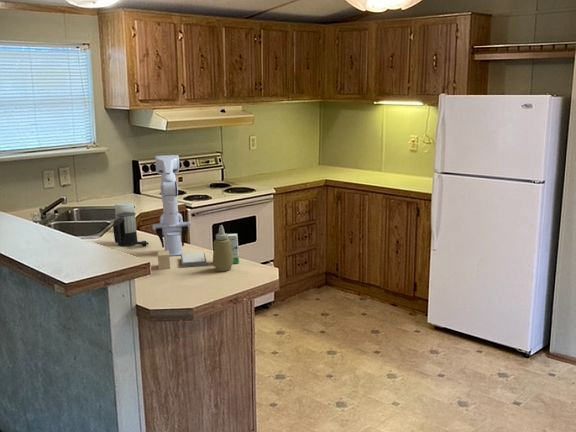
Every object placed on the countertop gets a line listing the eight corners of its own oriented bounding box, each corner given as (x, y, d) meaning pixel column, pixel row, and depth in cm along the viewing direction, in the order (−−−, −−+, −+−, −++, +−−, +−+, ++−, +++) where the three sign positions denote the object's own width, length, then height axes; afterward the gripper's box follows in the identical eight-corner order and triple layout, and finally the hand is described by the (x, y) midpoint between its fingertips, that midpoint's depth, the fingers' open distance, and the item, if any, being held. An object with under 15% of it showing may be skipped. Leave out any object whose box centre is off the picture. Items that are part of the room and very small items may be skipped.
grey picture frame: (181, 258, 267) (180, 254, 267) (204, 257, 269) (204, 252, 269) (182, 267, 254) (181, 262, 254) (206, 265, 256) (206, 260, 255)
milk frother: (121, 242, 302) (119, 211, 299) (154, 241, 301) (151, 211, 298) (112, 249, 288) (109, 217, 285) (146, 248, 287) (144, 217, 284)
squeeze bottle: (209, 271, 247) (207, 227, 243) (218, 266, 254) (216, 222, 251) (228, 273, 244) (226, 228, 241) (237, 267, 252) (234, 223, 248)
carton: (158, 265, 259) (157, 251, 257) (170, 264, 259) (169, 250, 258) (158, 270, 252) (157, 255, 251) (170, 269, 253) (169, 254, 251)
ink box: (239, 260, 262) (237, 232, 260) (238, 263, 257) (237, 235, 255) (218, 261, 262) (216, 233, 259) (217, 264, 257) (215, 236, 255)
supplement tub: (114, 231, 326) (111, 203, 323) (131, 228, 332) (129, 201, 329) (121, 234, 319) (119, 205, 316) (138, 231, 324) (136, 203, 321)
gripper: (151, 215, 240) (154, 250, 242) (190, 213, 242) (192, 247, 245) (151, 212, 247) (154, 245, 249) (189, 209, 249) (191, 243, 252)
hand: (173, 246), depth 248 cm, fingers open, 7 cm apart
